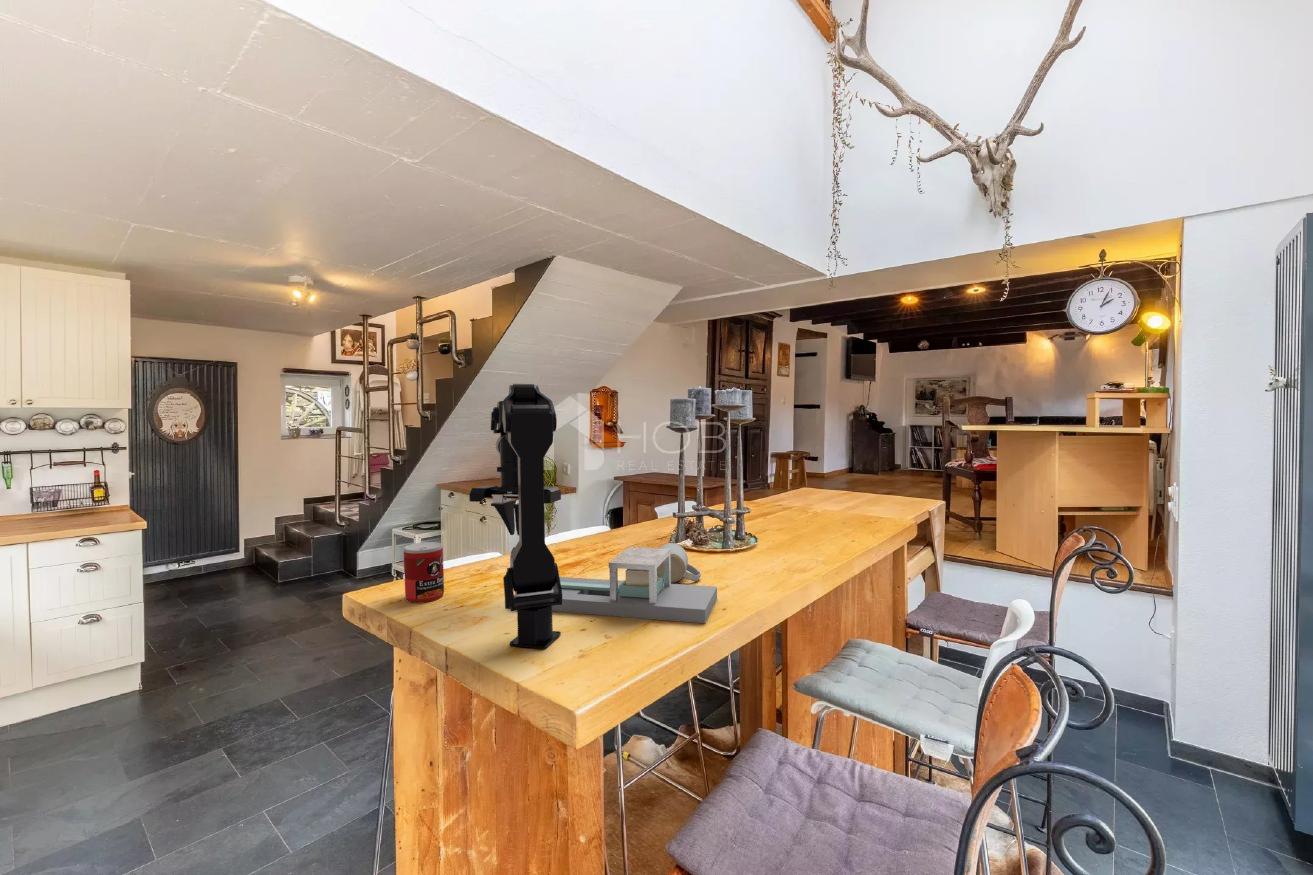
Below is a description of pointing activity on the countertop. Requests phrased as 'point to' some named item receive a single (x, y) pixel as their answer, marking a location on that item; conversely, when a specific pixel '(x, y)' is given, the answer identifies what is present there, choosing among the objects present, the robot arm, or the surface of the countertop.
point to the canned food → (423, 571)
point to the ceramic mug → (678, 565)
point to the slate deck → (638, 602)
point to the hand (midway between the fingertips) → (516, 534)
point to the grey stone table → (641, 568)
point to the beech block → (637, 577)
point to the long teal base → (622, 589)
